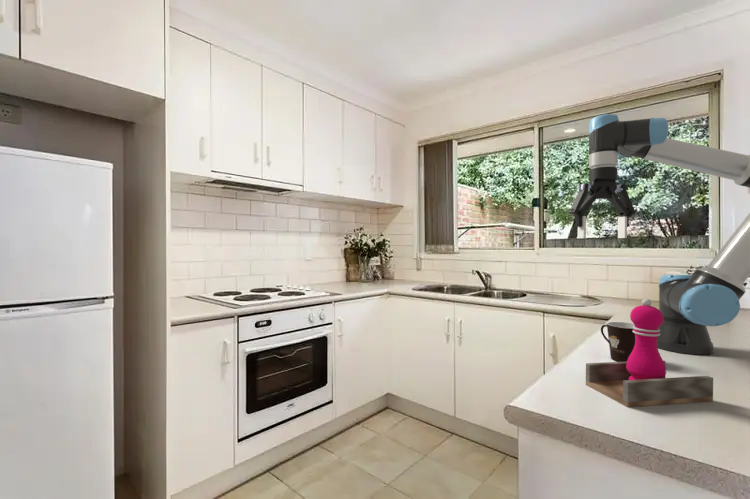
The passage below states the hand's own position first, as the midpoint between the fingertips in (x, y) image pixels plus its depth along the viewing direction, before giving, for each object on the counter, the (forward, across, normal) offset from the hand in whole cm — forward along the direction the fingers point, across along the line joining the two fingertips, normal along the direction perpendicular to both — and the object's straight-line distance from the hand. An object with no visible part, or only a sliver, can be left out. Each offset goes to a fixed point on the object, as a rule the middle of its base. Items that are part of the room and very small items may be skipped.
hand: (602, 238), depth 116 cm
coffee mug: (+35, -1, +7) cm, 36 cm away
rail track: (+35, +13, +30) cm, 48 cm away
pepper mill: (+34, +13, +30) cm, 47 cm away
